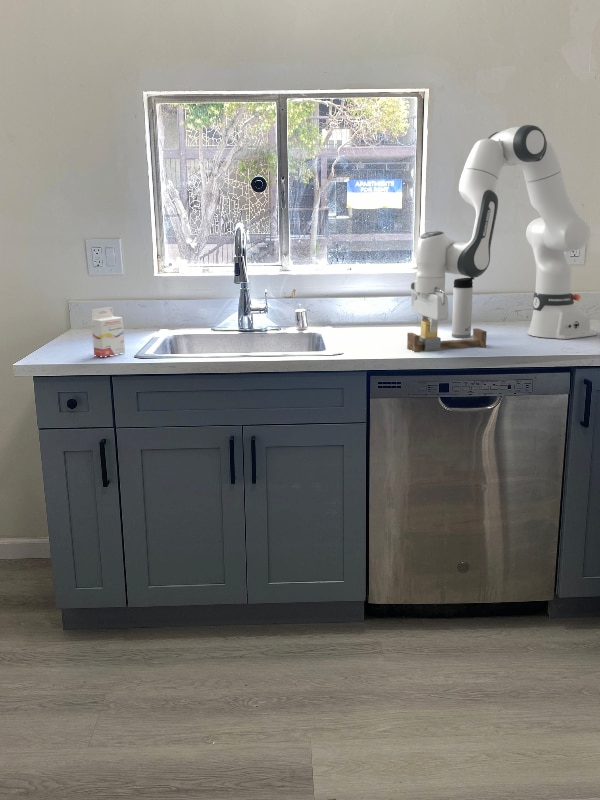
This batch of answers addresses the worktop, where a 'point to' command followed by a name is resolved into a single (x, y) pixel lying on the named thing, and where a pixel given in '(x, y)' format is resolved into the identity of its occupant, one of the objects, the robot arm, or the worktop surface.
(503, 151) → the robot arm
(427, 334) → the slider
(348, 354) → the worktop surface
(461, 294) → the travel mug
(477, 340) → the rail
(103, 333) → the ink cartridge box
